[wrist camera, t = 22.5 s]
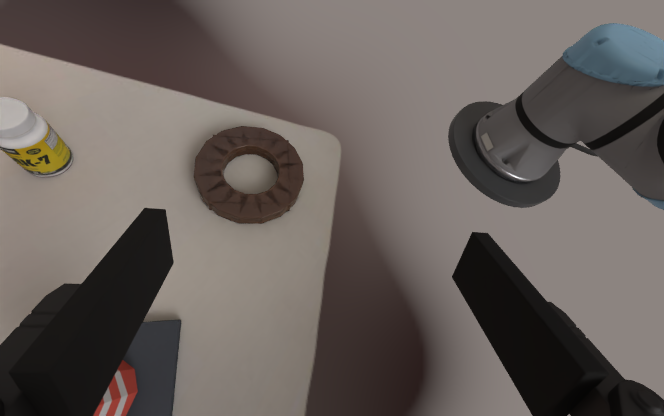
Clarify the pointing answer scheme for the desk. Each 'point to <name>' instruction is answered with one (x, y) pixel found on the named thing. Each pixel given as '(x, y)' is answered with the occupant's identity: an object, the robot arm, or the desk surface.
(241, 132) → the socket
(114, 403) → the beverage can
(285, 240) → the desk surface
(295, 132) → the desk surface
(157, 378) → the mat
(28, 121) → the supplement bottle
